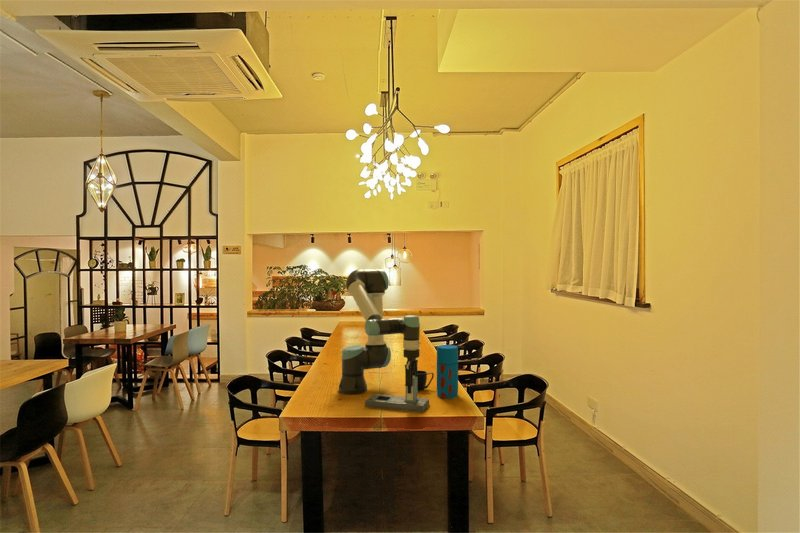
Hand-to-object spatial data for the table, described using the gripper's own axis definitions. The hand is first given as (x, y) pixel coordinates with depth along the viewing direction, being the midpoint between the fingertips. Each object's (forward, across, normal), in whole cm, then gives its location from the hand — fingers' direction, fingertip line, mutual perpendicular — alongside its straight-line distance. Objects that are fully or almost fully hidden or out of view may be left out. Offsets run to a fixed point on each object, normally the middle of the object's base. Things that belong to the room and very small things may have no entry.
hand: (411, 398), depth 212 cm
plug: (+4, 0, 0) cm, 4 cm away
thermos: (+4, +24, -12) cm, 27 cm away
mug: (+4, +31, +3) cm, 31 cm away
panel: (+4, 0, +7) cm, 8 cm away
